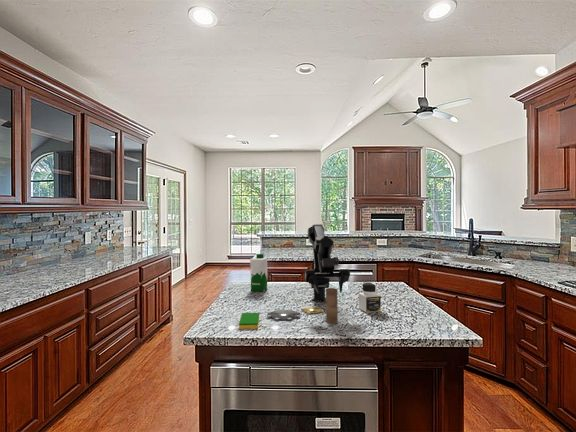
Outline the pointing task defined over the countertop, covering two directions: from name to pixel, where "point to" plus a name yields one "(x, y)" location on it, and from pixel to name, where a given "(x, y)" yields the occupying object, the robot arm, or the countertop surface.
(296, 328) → the countertop surface
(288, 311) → the steel gear disc
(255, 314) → the dish sponge
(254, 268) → the milk carton
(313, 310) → the brass gear disc
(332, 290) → the walnut axle
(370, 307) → the medicine bottle
